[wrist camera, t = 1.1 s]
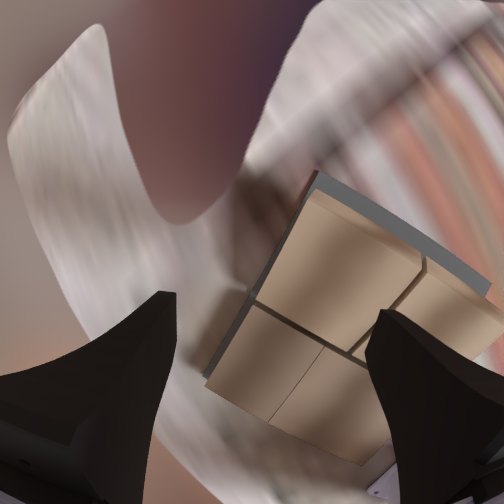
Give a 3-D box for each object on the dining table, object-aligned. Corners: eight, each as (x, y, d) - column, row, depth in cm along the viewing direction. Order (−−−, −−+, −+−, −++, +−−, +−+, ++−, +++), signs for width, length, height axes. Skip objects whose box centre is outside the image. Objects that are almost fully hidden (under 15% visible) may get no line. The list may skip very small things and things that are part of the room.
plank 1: (420, 252, 17) (421, 268, 15) (351, 334, 21) (346, 352, 20) (316, 188, 17) (307, 199, 16) (265, 284, 22) (255, 299, 21)
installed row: (417, 388, 21) (423, 399, 19) (360, 453, 22) (361, 466, 20) (258, 298, 23) (253, 304, 21) (211, 376, 24) (204, 386, 22)
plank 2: (502, 310, 16) (507, 329, 14) (427, 377, 20) (426, 395, 19) (425, 255, 16) (427, 272, 15) (356, 336, 21) (351, 354, 20)
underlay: (490, 282, 19) (491, 283, 19) (361, 456, 22) (362, 459, 22) (319, 171, 21) (319, 170, 21) (203, 374, 25) (202, 376, 24)
